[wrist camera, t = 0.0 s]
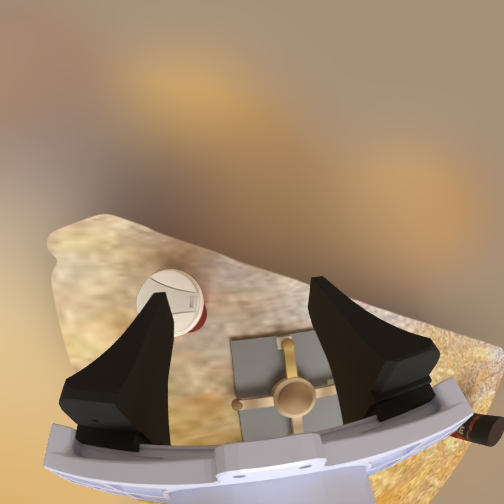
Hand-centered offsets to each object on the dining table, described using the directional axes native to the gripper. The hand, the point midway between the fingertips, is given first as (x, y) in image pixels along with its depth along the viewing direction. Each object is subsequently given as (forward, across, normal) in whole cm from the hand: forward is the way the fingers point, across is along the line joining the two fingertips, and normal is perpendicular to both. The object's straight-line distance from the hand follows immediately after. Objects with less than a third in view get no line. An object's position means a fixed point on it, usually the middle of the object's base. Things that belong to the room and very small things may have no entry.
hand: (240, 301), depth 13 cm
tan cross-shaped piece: (+12, -7, +31) cm, 34 cm away
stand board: (+12, -7, +32) cm, 35 cm away
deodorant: (-1, -42, +44) cm, 61 cm away
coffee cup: (+24, +8, +22) cm, 34 cm away
